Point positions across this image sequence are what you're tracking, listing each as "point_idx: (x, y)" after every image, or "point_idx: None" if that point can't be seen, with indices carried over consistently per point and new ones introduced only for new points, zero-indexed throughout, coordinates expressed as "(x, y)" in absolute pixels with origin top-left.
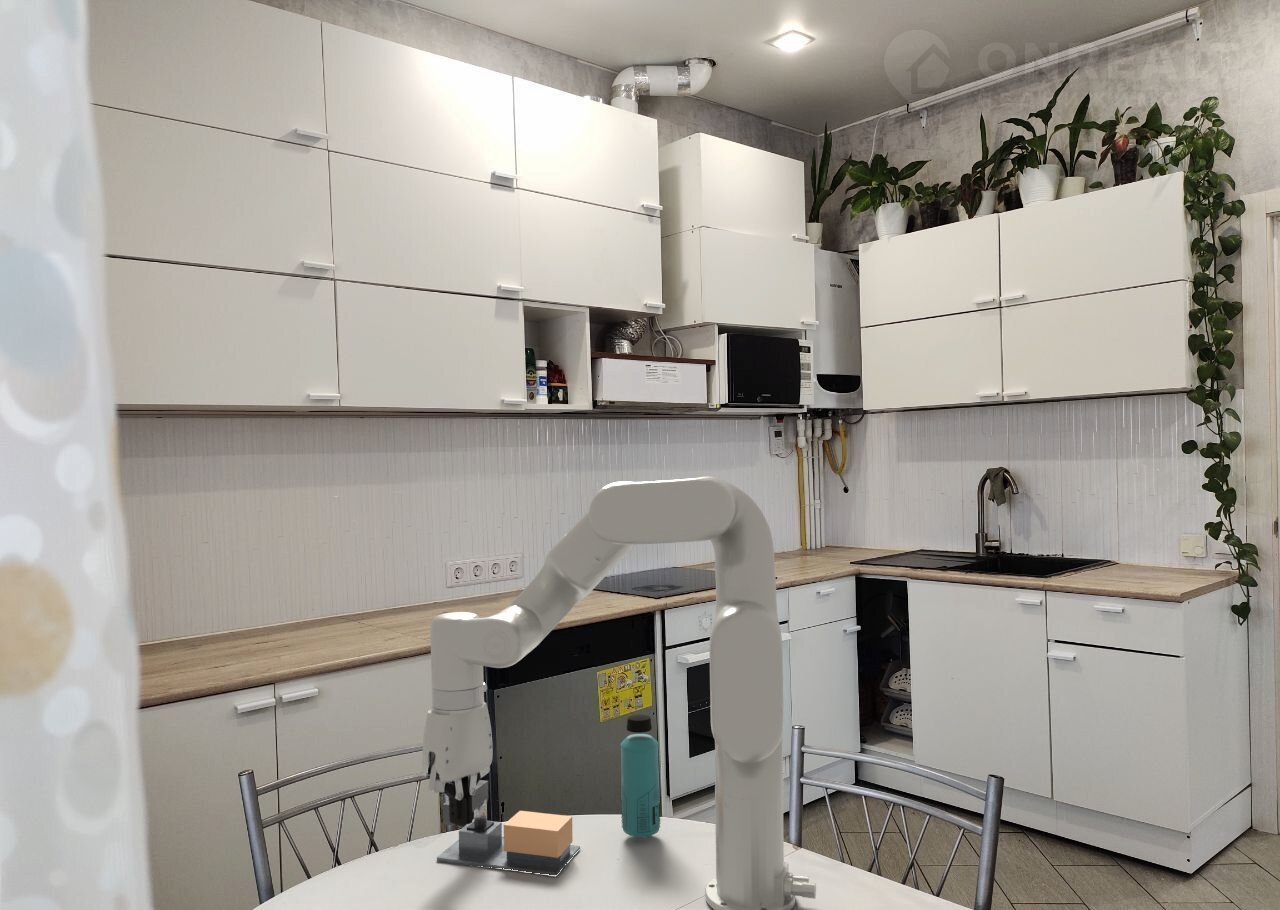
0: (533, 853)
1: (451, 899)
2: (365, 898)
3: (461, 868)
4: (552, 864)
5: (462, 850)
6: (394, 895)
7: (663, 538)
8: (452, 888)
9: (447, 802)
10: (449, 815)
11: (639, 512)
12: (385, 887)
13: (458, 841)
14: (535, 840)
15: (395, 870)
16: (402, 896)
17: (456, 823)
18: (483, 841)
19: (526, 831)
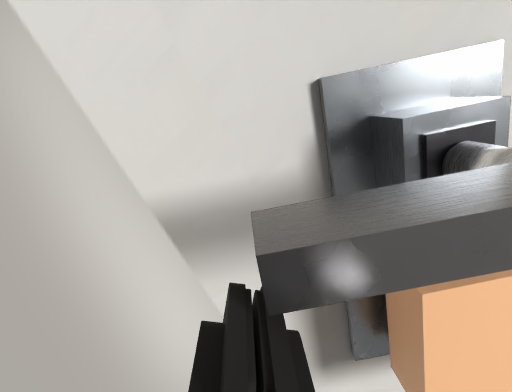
0: (388, 321)
1: (176, 247)
2: (54, 58)
3: (310, 167)
4: (388, 336)
5: (374, 127)
6: (113, 118)
7: None
8: (217, 216)
9: (290, 261)
10: (200, 326)
11: None
12: (129, 61)
13: (437, 60)
14: (405, 351)
15: (220, 4)
16: (122, 141)
17: (223, 319)
18: None
19: (417, 347)
